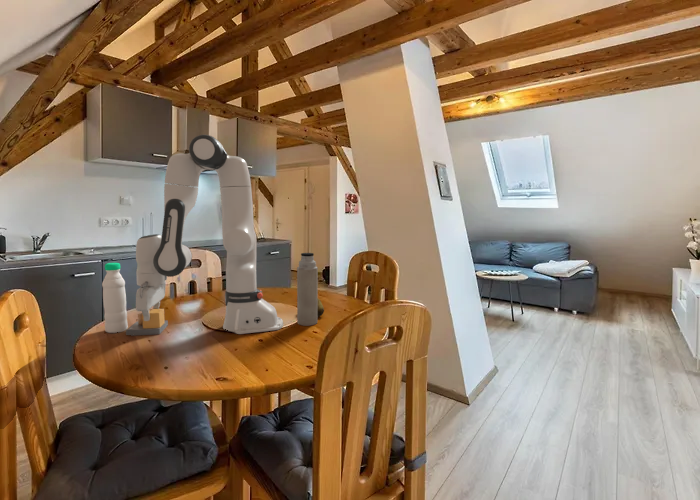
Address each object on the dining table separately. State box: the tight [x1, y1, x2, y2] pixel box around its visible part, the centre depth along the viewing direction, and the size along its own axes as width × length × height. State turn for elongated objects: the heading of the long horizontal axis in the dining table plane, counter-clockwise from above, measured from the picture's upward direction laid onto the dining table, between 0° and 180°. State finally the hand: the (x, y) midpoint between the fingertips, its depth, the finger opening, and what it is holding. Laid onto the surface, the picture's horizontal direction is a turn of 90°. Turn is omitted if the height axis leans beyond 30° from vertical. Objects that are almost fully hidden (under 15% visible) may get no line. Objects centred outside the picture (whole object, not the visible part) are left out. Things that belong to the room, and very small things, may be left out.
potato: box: [317, 298, 325, 318], centre depth 160 cm, size 8×13×8 cm, turn 14°
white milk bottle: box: [101, 262, 129, 334], centre depth 136 cm, size 7×7×25 cm
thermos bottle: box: [296, 252, 319, 326], centre depth 148 cm, size 8×8×28 cm
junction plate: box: [125, 312, 169, 336], centre depth 137 cm, size 11×10×6 cm
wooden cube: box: [142, 308, 165, 328], centre depth 137 cm, size 6×6×6 cm
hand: (151, 316), depth 137 cm, fingers open, 8 cm apart
